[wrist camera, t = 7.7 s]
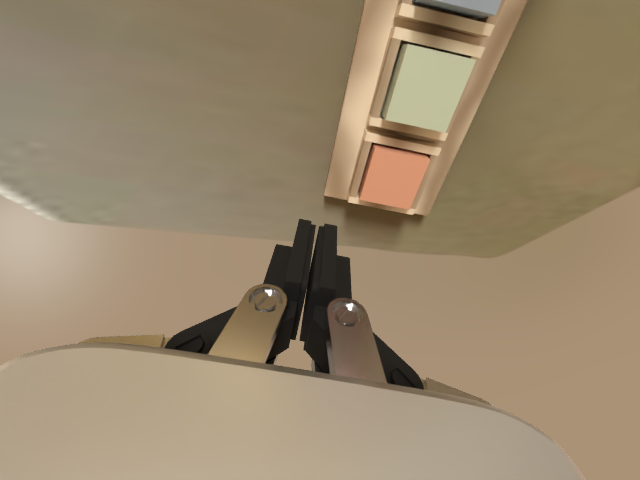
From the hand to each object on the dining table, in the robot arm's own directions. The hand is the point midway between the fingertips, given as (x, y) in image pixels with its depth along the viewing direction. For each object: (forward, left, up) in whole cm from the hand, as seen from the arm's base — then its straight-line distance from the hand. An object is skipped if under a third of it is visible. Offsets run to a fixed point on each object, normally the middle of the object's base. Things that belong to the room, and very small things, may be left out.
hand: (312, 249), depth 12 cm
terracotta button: (-8, +3, -22) cm, 24 cm away
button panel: (-8, -6, -25) cm, 27 cm away
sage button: (-8, -6, -22) cm, 24 cm away
